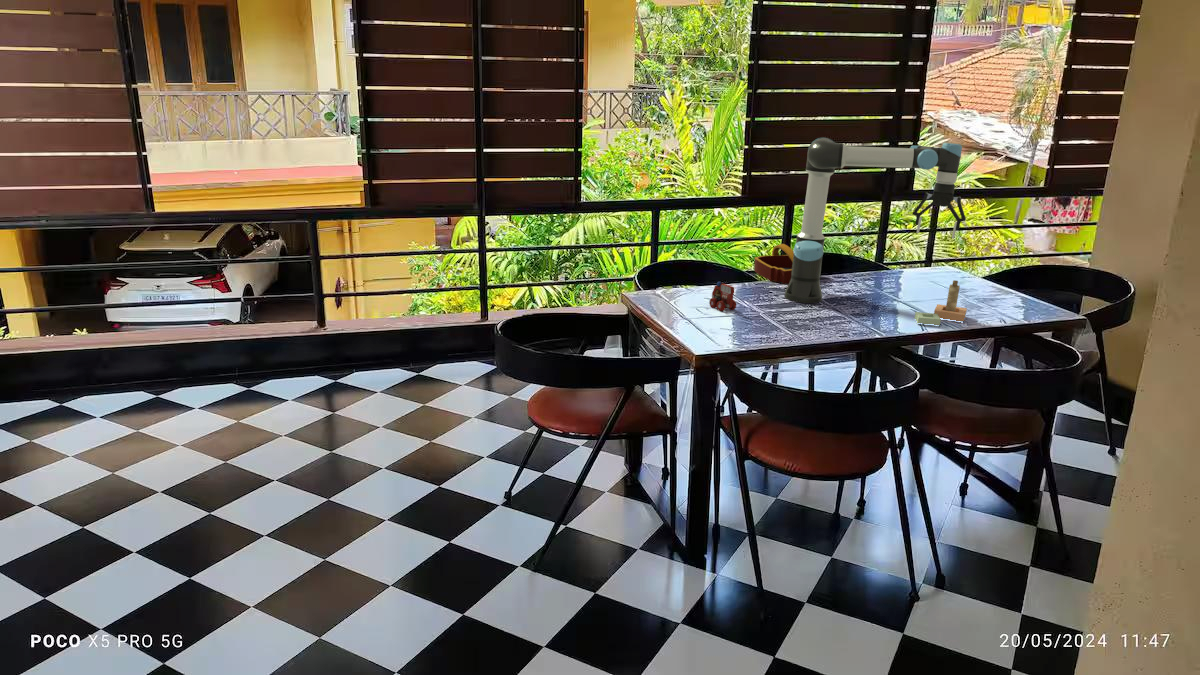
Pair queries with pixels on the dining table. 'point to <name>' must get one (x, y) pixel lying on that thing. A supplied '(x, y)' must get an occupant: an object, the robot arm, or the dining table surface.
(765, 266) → the decorative basket
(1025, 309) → the dining table surface
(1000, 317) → the dining table surface
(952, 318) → the orange square frame
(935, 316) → the green square ring
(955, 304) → the peg block
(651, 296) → the dining table surface
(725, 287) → the toy fire truck
